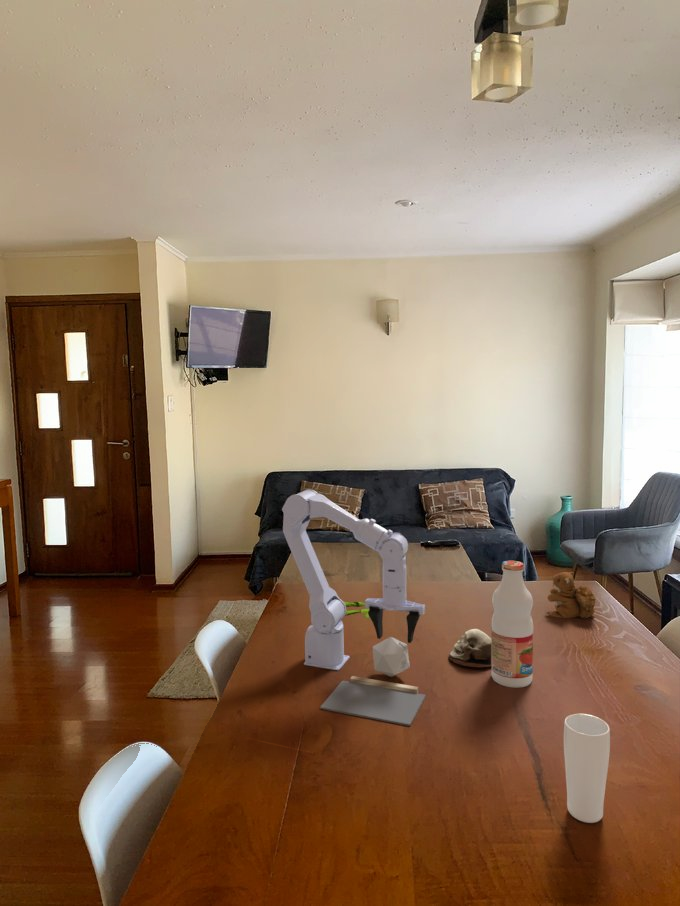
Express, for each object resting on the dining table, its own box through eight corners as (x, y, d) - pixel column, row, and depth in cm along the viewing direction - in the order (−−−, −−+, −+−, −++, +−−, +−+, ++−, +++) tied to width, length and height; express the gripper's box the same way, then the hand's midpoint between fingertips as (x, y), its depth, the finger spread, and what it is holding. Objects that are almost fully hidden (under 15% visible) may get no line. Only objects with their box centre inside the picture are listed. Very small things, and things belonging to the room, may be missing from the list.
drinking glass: (555, 800, 100) (556, 714, 99) (594, 797, 101) (596, 711, 99) (574, 829, 93) (576, 737, 92) (616, 826, 94) (619, 734, 92)
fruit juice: (492, 668, 148) (493, 556, 146) (532, 672, 146) (534, 559, 143) (489, 685, 140) (490, 567, 137) (532, 691, 137) (534, 570, 134)
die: (408, 686, 140) (407, 645, 139) (369, 683, 142) (369, 642, 141) (411, 670, 148) (411, 630, 147) (375, 667, 150) (374, 628, 149)
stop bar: (350, 683, 142) (350, 678, 142) (352, 680, 143) (352, 675, 143) (416, 694, 136) (416, 689, 136) (418, 692, 137) (418, 686, 137)
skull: (444, 663, 148) (446, 624, 155) (451, 680, 155) (453, 641, 162) (494, 665, 144) (494, 625, 151) (499, 682, 151) (499, 642, 158)
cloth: (386, 623, 181) (386, 615, 180) (312, 624, 181) (312, 616, 181) (382, 600, 201) (382, 593, 201) (316, 601, 201) (316, 594, 201)
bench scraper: (320, 708, 131) (320, 707, 131) (342, 682, 143) (342, 680, 143) (410, 726, 123) (410, 724, 123) (425, 696, 135) (425, 694, 135)
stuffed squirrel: (554, 606, 190) (555, 565, 189) (601, 616, 182) (602, 573, 180) (543, 616, 182) (543, 573, 181) (592, 626, 174) (593, 581, 173)
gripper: (360, 586, 145) (361, 641, 146) (419, 593, 140) (420, 649, 141) (370, 578, 151) (370, 630, 153) (427, 584, 146) (427, 638, 147)
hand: (394, 639), depth 147 cm, fingers open, 7 cm apart
